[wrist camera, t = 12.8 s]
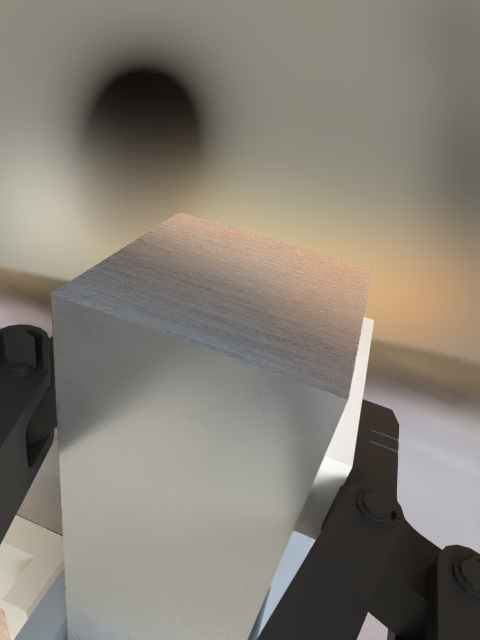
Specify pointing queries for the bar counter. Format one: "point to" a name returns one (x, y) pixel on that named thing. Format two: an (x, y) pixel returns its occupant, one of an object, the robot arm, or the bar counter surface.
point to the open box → (51, 615)
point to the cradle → (27, 569)
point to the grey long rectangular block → (194, 423)
